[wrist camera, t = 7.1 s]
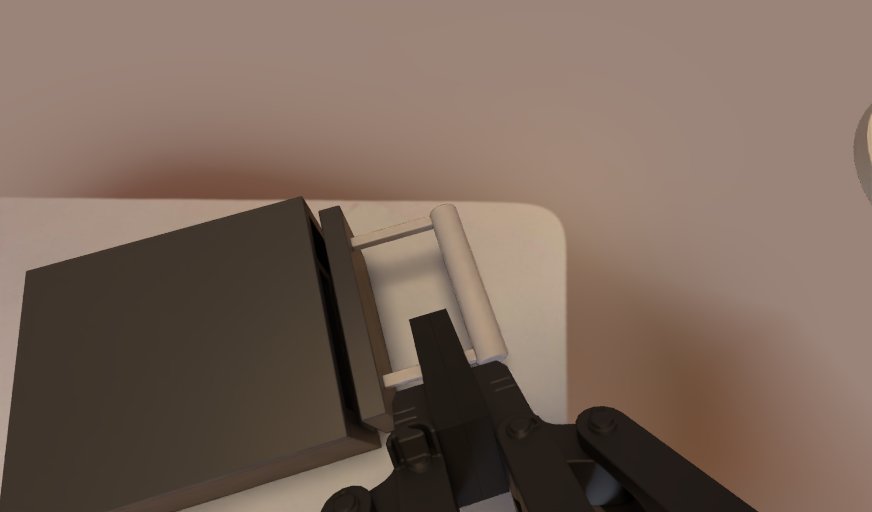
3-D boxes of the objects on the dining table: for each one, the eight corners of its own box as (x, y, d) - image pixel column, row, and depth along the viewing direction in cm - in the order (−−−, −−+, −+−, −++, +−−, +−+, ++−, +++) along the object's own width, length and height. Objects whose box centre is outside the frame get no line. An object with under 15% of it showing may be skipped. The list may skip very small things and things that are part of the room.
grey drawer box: (341, 261, 33) (302, 195, 25) (381, 447, 27) (347, 437, 19) (133, 320, 32) (25, 270, 24) (133, 524, 26) (-7, 546, 19)
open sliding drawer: (452, 232, 32) (448, 174, 26) (508, 394, 27) (520, 372, 21) (167, 312, 31) (92, 272, 25) (173, 499, 26) (82, 507, 20)
